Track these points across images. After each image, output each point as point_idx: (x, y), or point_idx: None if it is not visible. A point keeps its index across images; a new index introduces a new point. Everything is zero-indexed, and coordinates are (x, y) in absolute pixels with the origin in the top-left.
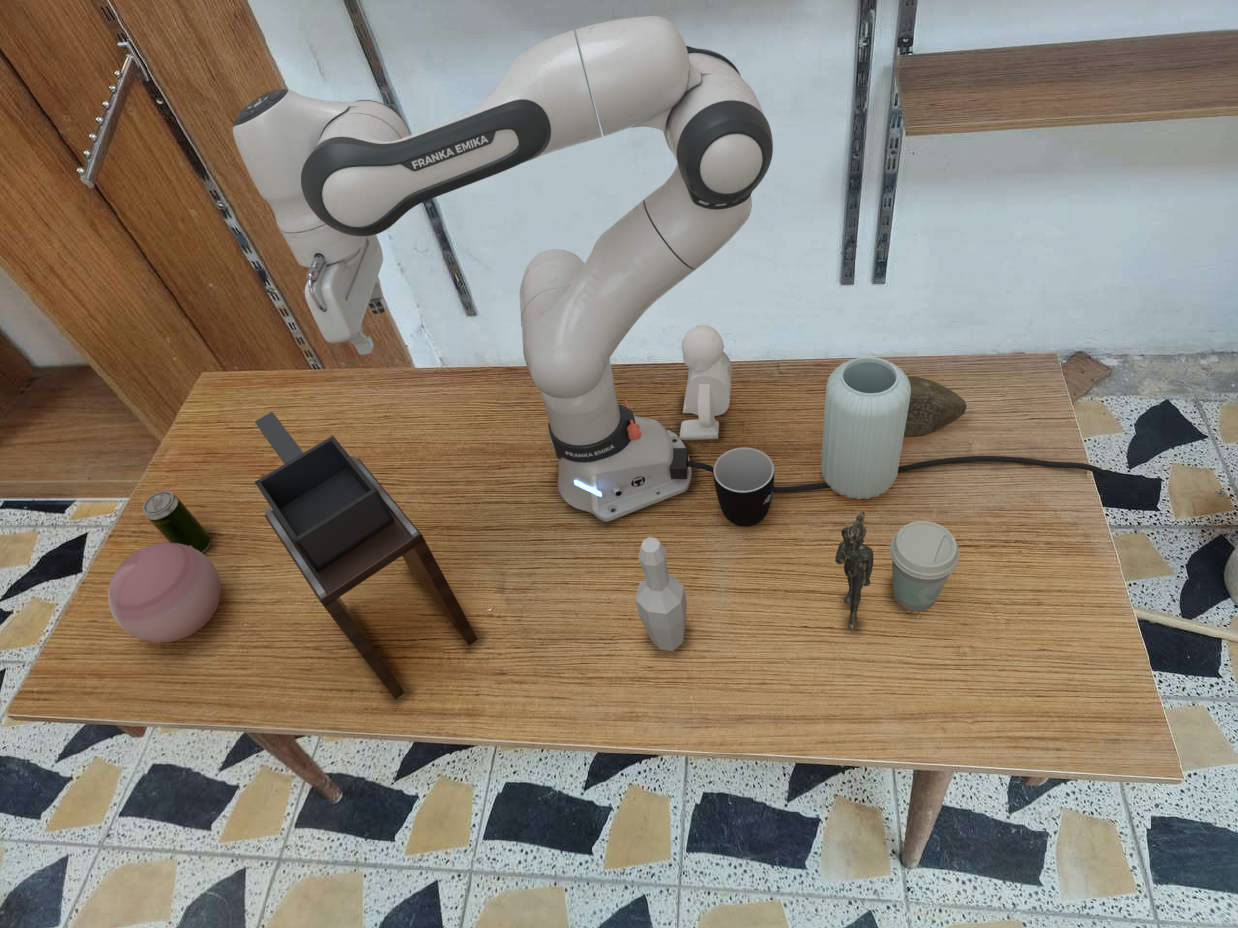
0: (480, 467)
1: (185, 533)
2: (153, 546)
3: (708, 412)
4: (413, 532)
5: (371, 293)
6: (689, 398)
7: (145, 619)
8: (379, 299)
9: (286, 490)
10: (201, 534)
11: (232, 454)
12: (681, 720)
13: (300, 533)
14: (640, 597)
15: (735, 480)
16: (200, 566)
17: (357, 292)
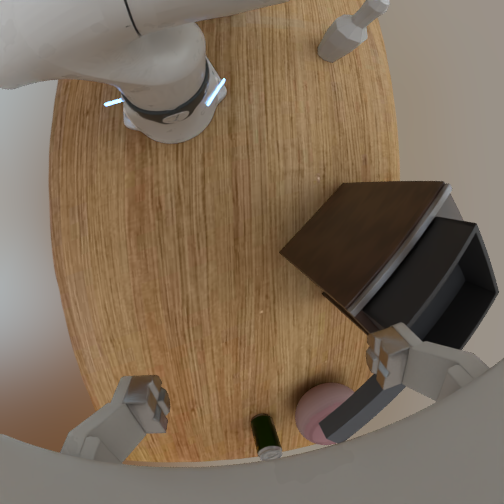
0: (160, 228)
1: (272, 430)
2: (321, 438)
3: None
4: (451, 187)
5: (259, 466)
6: None
7: None
8: (137, 407)
9: None
10: (263, 422)
11: (176, 433)
12: (375, 56)
13: (439, 315)
14: (362, 38)
15: None
16: (325, 406)
17: (478, 486)
